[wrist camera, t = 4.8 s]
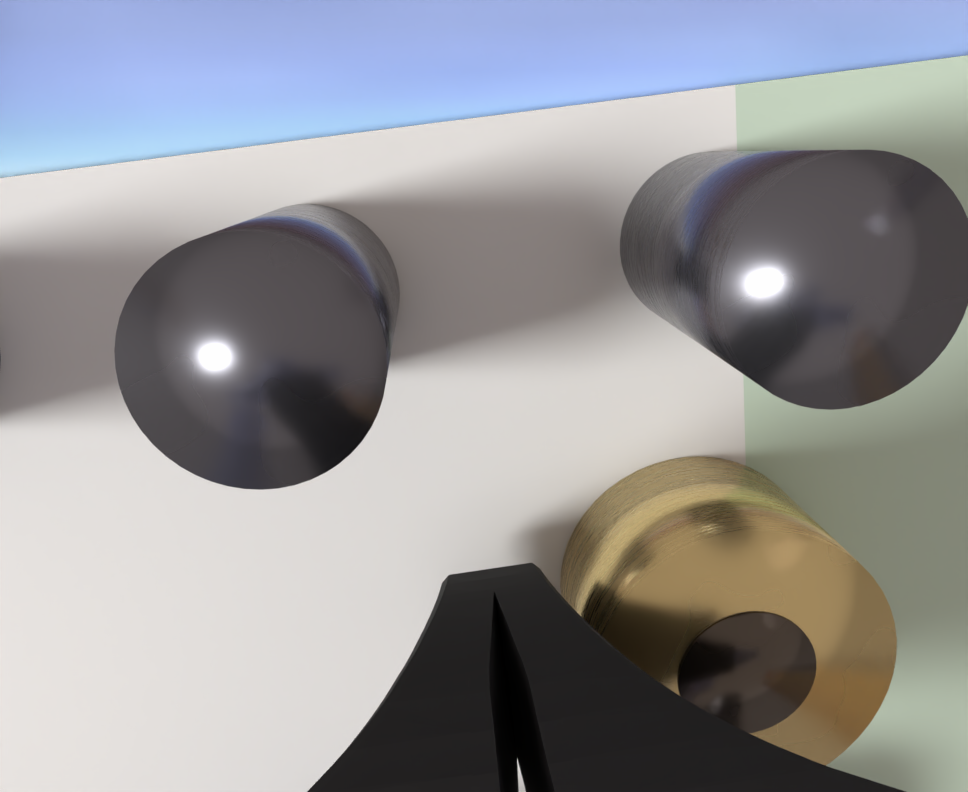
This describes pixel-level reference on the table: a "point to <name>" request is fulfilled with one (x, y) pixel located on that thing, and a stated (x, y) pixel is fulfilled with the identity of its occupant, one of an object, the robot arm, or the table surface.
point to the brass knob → (735, 602)
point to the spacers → (647, 267)
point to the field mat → (430, 436)
